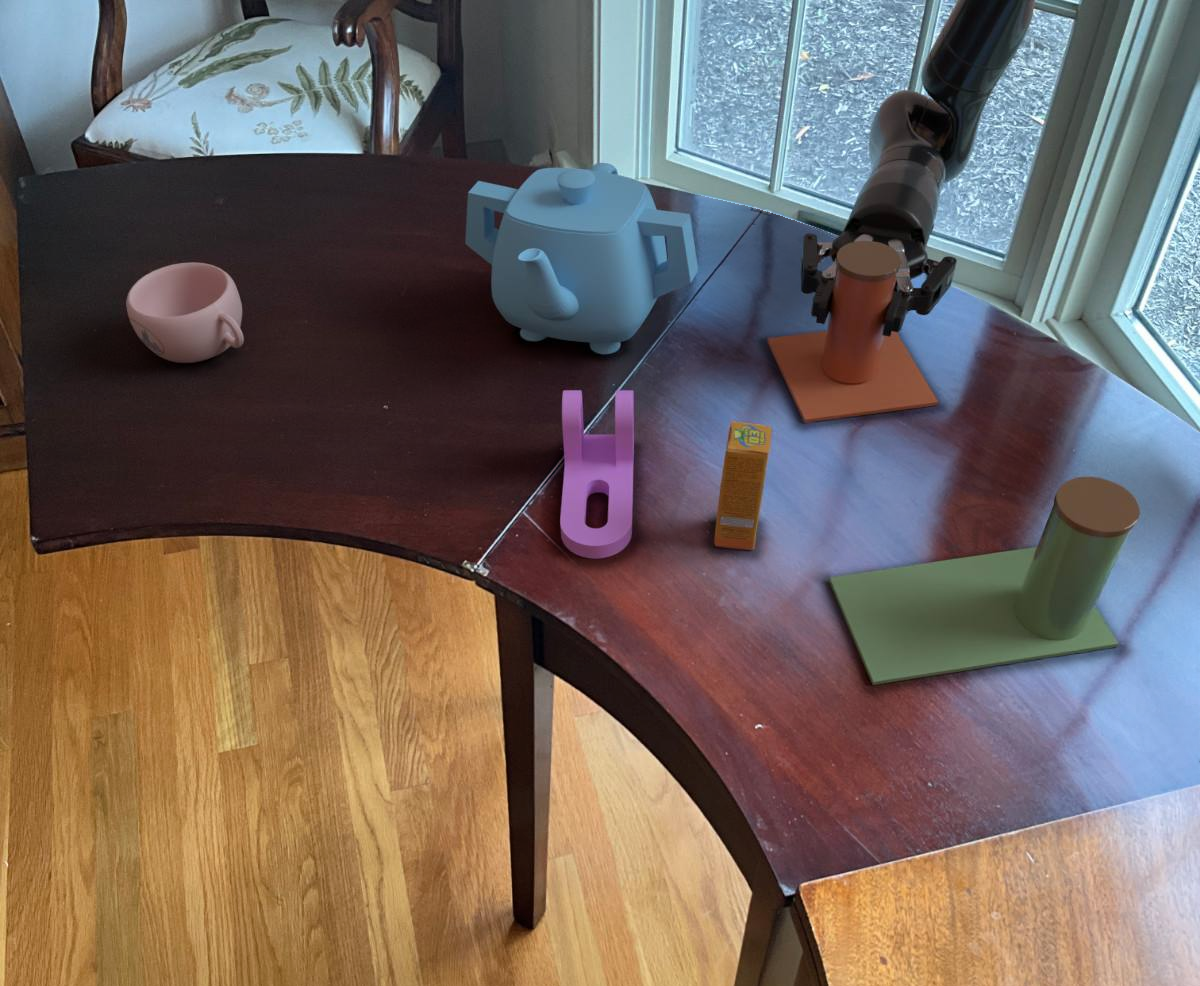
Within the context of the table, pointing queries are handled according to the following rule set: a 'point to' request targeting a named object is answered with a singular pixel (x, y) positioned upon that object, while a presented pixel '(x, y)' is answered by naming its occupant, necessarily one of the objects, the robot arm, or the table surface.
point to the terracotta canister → (859, 310)
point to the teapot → (579, 253)
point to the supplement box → (742, 485)
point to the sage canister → (1075, 556)
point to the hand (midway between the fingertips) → (854, 320)
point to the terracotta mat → (833, 399)
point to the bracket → (597, 477)
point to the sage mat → (949, 617)
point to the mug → (186, 312)
